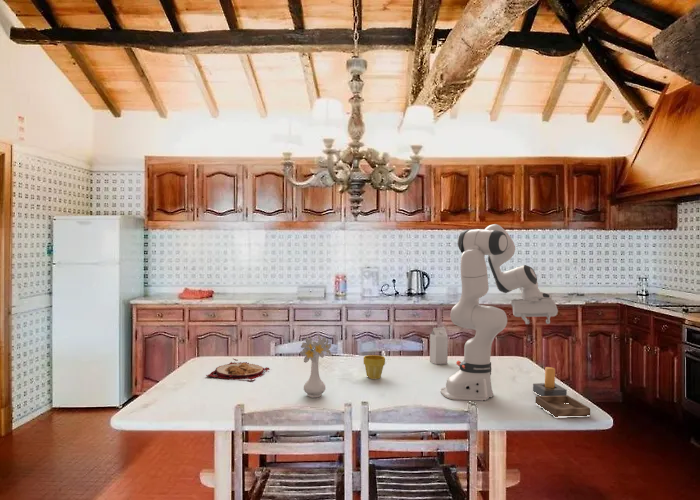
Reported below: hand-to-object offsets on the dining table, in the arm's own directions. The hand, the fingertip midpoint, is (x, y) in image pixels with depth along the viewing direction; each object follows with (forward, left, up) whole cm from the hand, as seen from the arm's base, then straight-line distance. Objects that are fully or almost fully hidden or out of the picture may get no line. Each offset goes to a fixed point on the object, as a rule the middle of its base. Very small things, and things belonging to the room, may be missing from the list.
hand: (538, 323), depth 242 cm
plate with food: (-138, +32, -29) cm, 145 cm away
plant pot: (-74, +18, -29) cm, 81 cm away
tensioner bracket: (-3, -17, -29) cm, 33 cm away
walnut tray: (-8, -36, -29) cm, 47 cm away
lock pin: (-3, -17, -29) cm, 33 cm away
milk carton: (-34, +44, -29) cm, 62 cm away
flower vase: (-104, -9, -29) cm, 108 cm away
